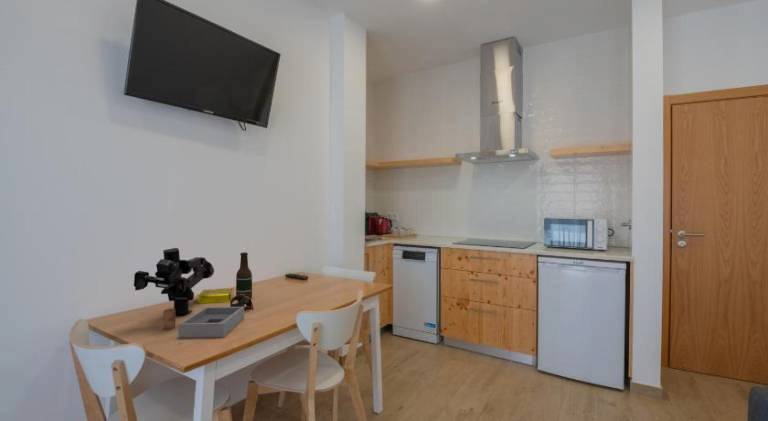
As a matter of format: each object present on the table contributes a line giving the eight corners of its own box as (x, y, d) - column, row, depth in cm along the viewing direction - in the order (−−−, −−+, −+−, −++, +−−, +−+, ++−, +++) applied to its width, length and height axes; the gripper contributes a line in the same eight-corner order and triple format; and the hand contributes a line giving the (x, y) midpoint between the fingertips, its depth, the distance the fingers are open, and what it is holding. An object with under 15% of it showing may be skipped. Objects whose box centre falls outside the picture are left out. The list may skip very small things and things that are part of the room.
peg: (167, 326, 141) (167, 308, 141) (177, 326, 141) (177, 308, 141) (161, 329, 137) (161, 311, 137) (172, 329, 137) (172, 311, 137)
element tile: (197, 304, 174) (197, 295, 174) (203, 297, 188) (203, 288, 188) (230, 302, 178) (230, 293, 178) (233, 295, 193) (233, 286, 193)
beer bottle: (255, 298, 185) (255, 252, 185) (242, 301, 179) (242, 254, 178) (245, 296, 189) (245, 251, 189) (232, 299, 183) (232, 252, 183)
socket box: (205, 318, 151) (205, 307, 151) (244, 318, 152) (244, 306, 152) (178, 337, 129) (178, 324, 129) (223, 337, 130) (223, 323, 130)
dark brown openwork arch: (256, 311, 164) (248, 298, 160) (236, 322, 160) (228, 309, 157) (252, 299, 174) (244, 286, 170) (233, 309, 171) (225, 296, 167)
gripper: (147, 253, 146) (123, 266, 130) (195, 260, 148) (176, 274, 132) (145, 279, 148) (121, 294, 132) (192, 285, 150) (174, 302, 134)
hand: (148, 290), depth 133 cm, fingers open, 9 cm apart
